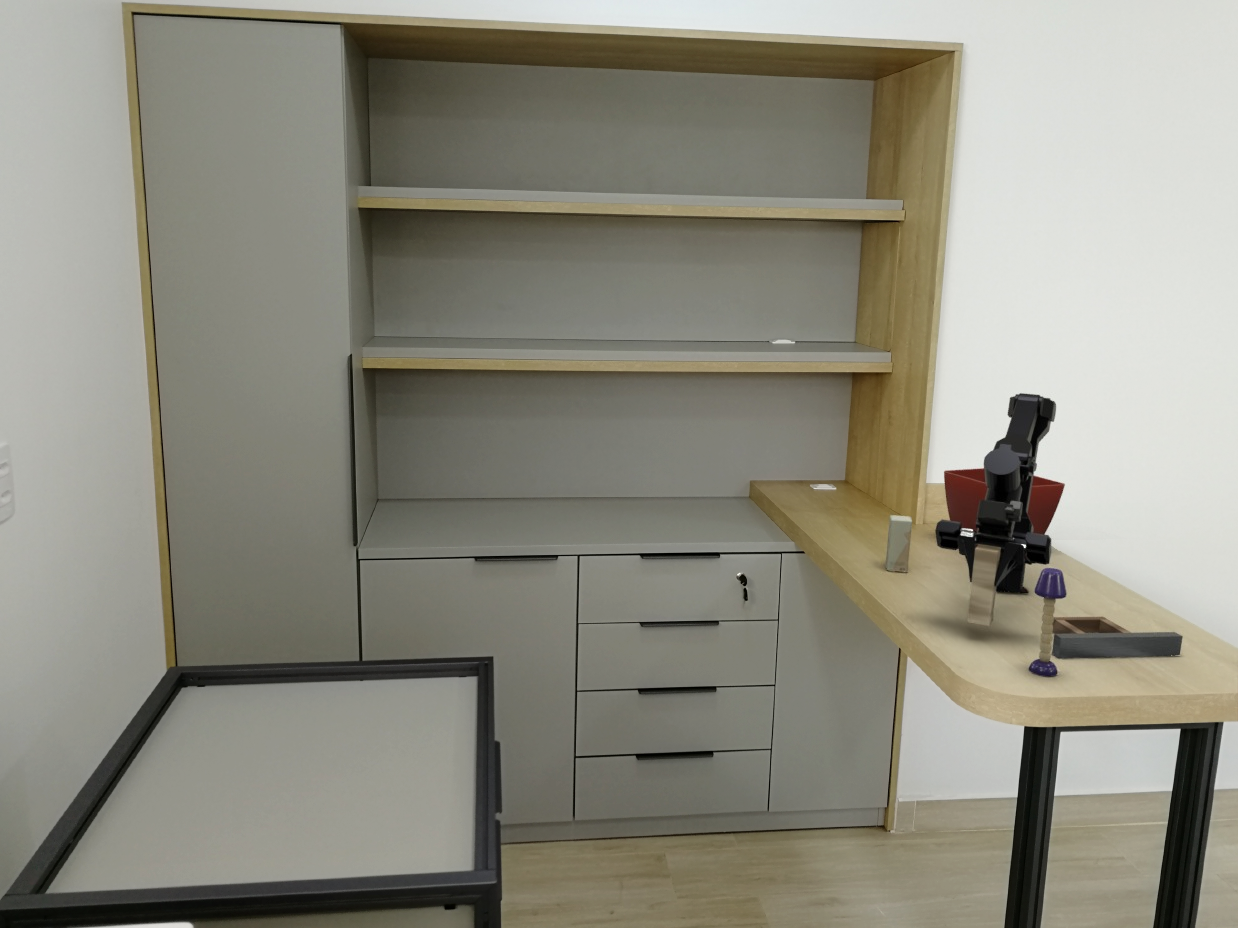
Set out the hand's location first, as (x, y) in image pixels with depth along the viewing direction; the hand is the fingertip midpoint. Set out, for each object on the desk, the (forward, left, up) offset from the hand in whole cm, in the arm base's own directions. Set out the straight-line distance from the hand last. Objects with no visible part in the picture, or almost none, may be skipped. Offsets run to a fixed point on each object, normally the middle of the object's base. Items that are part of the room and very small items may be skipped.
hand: (983, 583), depth 174 cm
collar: (-3, +21, -10) cm, 23 cm away
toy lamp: (+13, +7, -10) cm, 18 cm away
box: (-41, -5, -10) cm, 43 cm away
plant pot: (-63, +22, -10) cm, 68 cm away
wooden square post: (-1, +1, -7) cm, 7 cm away
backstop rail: (+3, +22, -10) cm, 24 cm away
